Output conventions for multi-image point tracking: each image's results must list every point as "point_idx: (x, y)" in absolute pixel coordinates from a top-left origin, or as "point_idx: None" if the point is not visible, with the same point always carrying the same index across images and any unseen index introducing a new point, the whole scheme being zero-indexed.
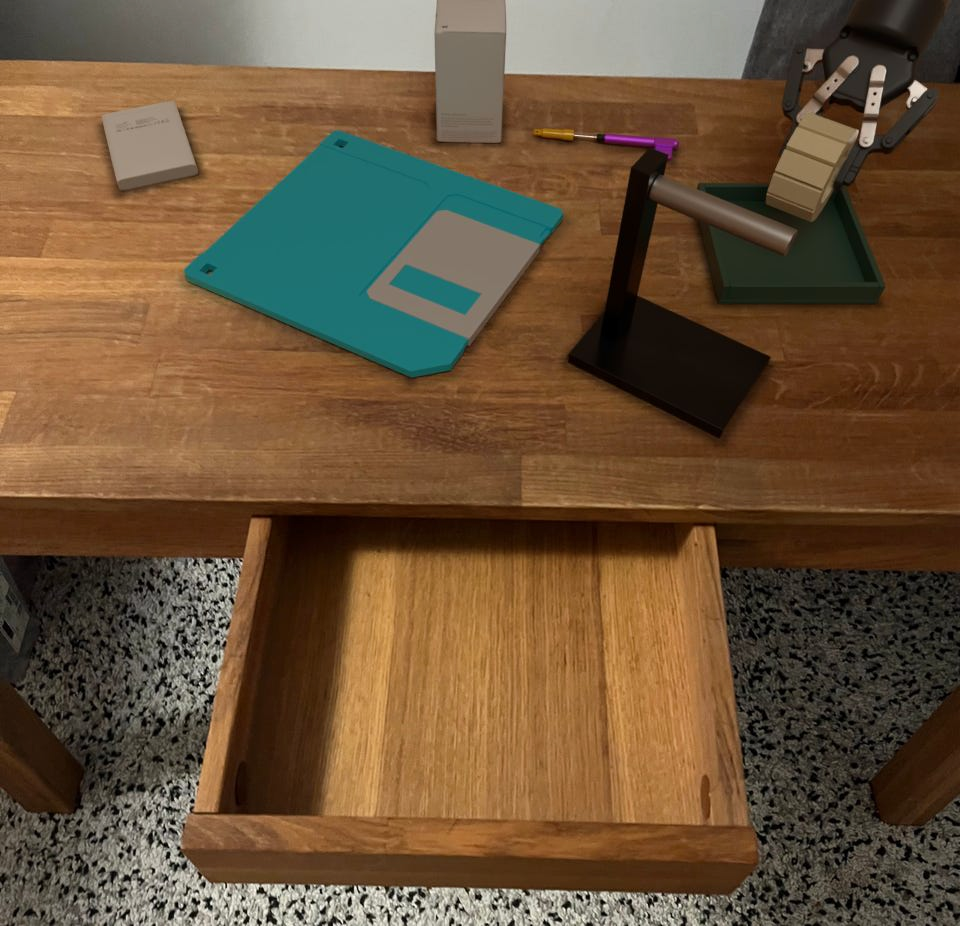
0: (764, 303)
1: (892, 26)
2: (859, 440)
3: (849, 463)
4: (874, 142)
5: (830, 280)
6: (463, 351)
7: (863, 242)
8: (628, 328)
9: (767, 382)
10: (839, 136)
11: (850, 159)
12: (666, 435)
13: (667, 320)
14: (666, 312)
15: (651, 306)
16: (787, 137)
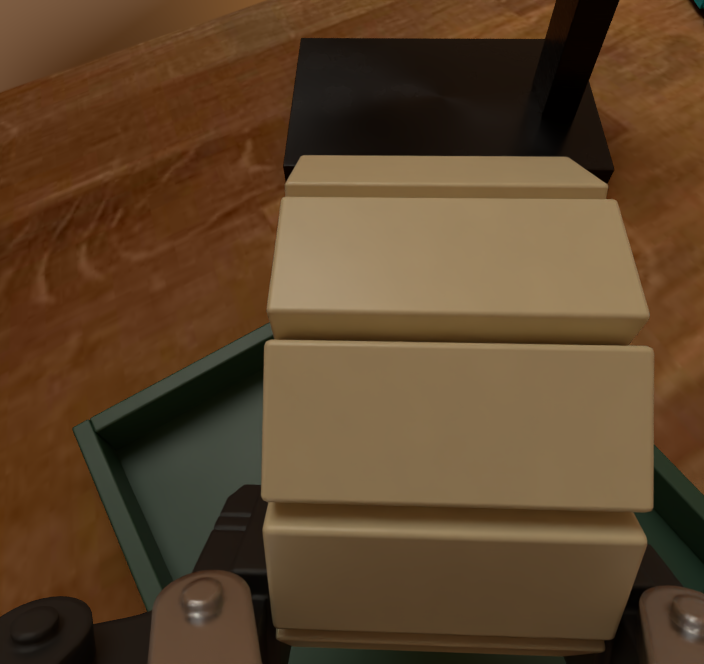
0: None
1: None
2: (101, 136)
3: (112, 101)
4: (147, 646)
5: (228, 447)
6: (699, 3)
7: (158, 591)
8: (536, 106)
9: (273, 159)
10: (344, 213)
11: None
12: (371, 35)
13: (492, 148)
14: None
15: None
16: (655, 558)
